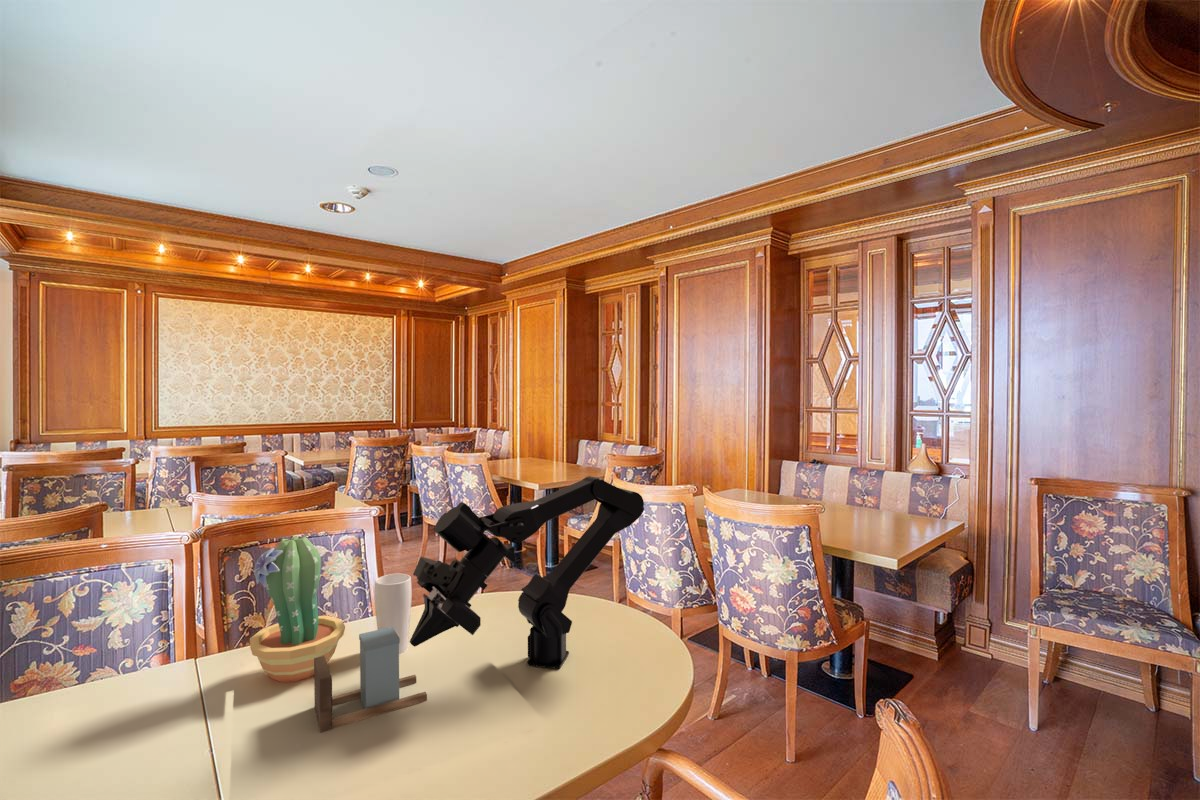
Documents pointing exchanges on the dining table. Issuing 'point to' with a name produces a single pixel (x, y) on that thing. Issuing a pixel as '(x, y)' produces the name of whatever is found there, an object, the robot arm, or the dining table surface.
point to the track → (326, 700)
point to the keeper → (379, 667)
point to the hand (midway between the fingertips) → (412, 644)
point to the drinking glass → (394, 605)
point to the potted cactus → (293, 612)
